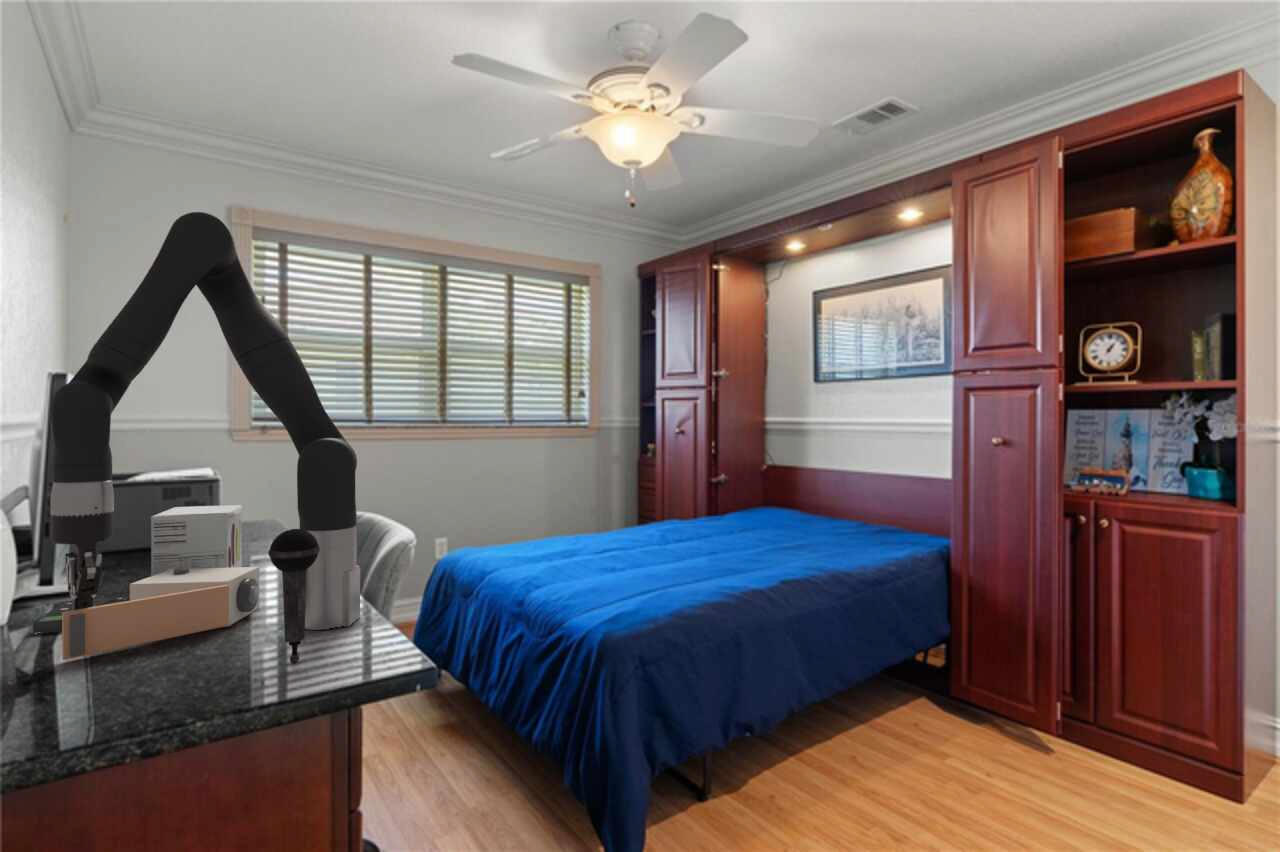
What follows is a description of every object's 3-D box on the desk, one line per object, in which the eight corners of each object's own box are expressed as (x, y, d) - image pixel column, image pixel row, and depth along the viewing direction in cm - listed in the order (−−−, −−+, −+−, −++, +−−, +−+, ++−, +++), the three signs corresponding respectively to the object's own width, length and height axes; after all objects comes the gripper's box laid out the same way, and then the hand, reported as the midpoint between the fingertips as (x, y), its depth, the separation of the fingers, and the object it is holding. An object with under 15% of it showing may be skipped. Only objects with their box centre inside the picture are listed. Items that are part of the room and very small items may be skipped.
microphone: (284, 674, 93) (284, 534, 93) (258, 665, 97) (258, 530, 97) (329, 659, 99) (329, 527, 99) (303, 651, 102) (303, 524, 102)
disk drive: (64, 616, 124) (31, 637, 111) (64, 601, 124) (32, 621, 111) (131, 609, 129) (108, 629, 115) (131, 595, 129) (108, 613, 115)
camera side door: (227, 624, 115) (226, 584, 115) (231, 626, 114) (231, 586, 114) (62, 658, 98) (62, 612, 98) (64, 661, 97) (64, 614, 97)
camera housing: (269, 607, 127) (269, 562, 127) (238, 626, 116) (238, 576, 116) (171, 610, 125) (171, 564, 125) (129, 630, 113) (129, 579, 113)
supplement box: (229, 602, 132) (228, 512, 132) (149, 609, 127) (149, 516, 127) (244, 583, 148) (243, 503, 148) (173, 589, 143) (173, 506, 143)
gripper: (124, 511, 100) (123, 624, 100) (103, 504, 109) (103, 608, 109) (59, 516, 94) (58, 636, 94) (43, 508, 103) (42, 618, 103)
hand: (82, 621), depth 102 cm, fingers closed
